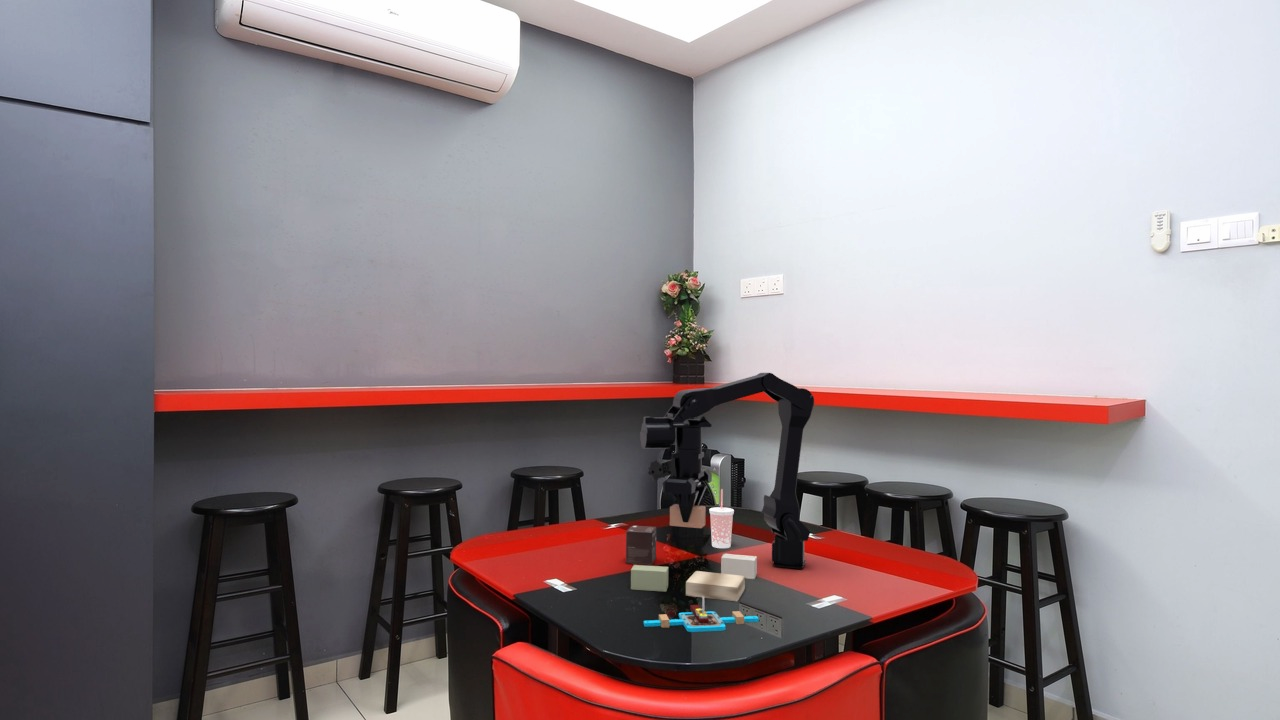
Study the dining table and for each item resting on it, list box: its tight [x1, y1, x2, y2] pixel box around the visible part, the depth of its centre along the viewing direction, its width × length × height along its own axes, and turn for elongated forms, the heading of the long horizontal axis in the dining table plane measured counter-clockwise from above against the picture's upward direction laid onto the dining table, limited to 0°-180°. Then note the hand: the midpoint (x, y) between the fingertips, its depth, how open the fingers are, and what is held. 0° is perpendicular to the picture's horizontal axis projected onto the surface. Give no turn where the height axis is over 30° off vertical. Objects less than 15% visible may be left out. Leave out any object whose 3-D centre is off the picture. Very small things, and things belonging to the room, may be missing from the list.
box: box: [625, 525, 657, 566], centre depth 160 cm, size 6×6×7 cm
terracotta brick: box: [669, 503, 706, 529], centre depth 152 cm, size 7×4×4 cm, turn 71°
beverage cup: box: [708, 488, 735, 549], centre depth 174 cm, size 6×6×14 cm
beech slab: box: [685, 570, 746, 602], centre depth 138 cm, size 10×8×3 cm
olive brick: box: [630, 564, 669, 593], centre depth 140 cm, size 7×4×4 cm, turn 81°
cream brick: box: [720, 553, 758, 580], centre depth 149 cm, size 7×4×4 cm, turn 73°
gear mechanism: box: [643, 597, 760, 633], centre depth 122 cm, size 20×5×9 cm
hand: (687, 520), depth 152 cm, fingers closed on terracotta brick, 3 cm apart
